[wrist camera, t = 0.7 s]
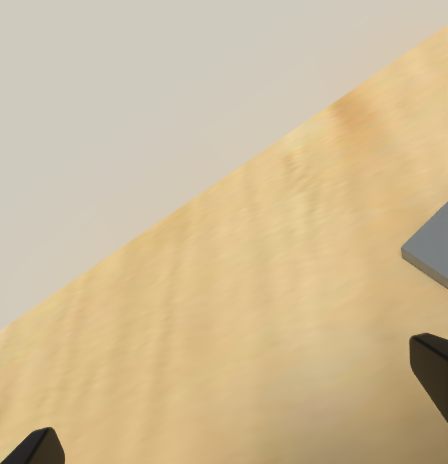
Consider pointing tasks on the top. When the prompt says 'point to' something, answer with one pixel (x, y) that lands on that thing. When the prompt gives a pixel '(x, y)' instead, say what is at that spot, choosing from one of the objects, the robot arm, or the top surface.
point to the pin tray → (430, 247)
